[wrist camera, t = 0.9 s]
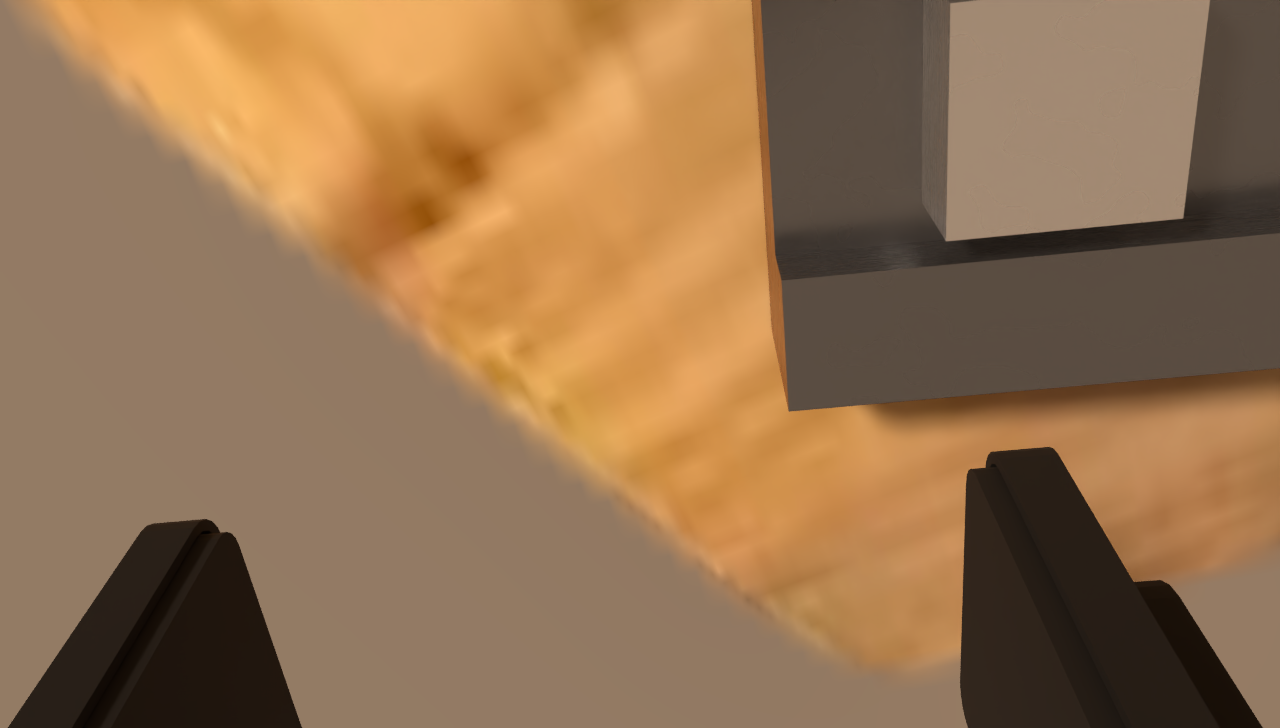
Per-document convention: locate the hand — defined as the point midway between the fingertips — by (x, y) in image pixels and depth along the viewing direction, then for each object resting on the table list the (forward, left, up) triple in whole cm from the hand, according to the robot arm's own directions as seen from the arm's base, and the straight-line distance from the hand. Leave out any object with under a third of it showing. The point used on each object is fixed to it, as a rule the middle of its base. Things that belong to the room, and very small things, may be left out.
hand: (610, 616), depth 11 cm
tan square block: (-9, 0, -17) cm, 19 cm away
